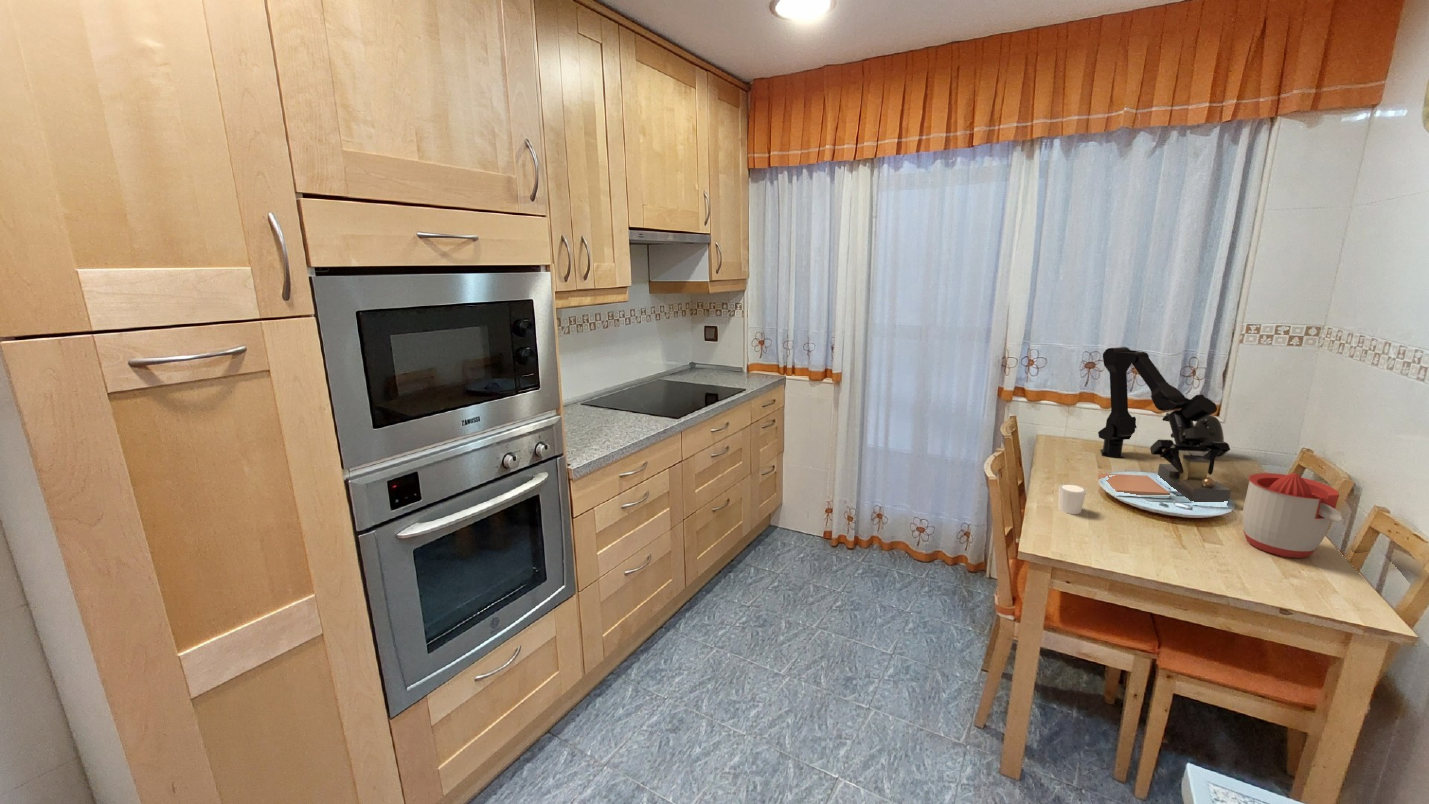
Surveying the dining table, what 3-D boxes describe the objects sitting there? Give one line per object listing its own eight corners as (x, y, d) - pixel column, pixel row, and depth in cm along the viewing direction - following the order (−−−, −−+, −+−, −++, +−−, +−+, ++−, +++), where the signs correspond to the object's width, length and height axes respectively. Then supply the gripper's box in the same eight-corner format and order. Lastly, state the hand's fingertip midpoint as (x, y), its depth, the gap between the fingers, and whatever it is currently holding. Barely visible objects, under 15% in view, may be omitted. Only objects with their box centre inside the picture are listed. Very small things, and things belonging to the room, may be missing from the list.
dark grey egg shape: (1177, 454, 205) (1185, 414, 201) (1193, 449, 209) (1201, 410, 205) (1211, 463, 196) (1219, 421, 192) (1227, 457, 200) (1235, 416, 196)
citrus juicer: (1302, 572, 131) (1323, 492, 126) (1219, 537, 147) (1235, 466, 142) (1348, 560, 135) (1369, 483, 130) (1262, 528, 151) (1279, 458, 146)
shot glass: (1075, 505, 169) (1078, 483, 167) (1088, 515, 162) (1091, 492, 160) (1051, 505, 169) (1054, 483, 167) (1063, 515, 163) (1066, 492, 161)
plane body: (1156, 479, 184) (1160, 456, 182) (1188, 481, 182) (1193, 457, 180) (1191, 505, 165) (1195, 480, 163) (1227, 507, 163) (1232, 482, 161)
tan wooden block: (1178, 479, 176) (1183, 454, 174) (1197, 480, 174) (1202, 455, 172) (1186, 484, 171) (1191, 459, 169) (1205, 485, 170) (1210, 460, 168)
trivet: (1097, 478, 186) (1098, 473, 186) (1146, 481, 183) (1147, 475, 183) (1116, 496, 173) (1117, 490, 173) (1169, 499, 170) (1170, 493, 170)
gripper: (1160, 414, 174) (1173, 461, 166) (1232, 416, 169) (1249, 464, 162) (1144, 431, 183) (1156, 475, 175) (1212, 433, 179) (1227, 479, 171)
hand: (1196, 473), depth 171 cm, fingers open, 7 cm apart
